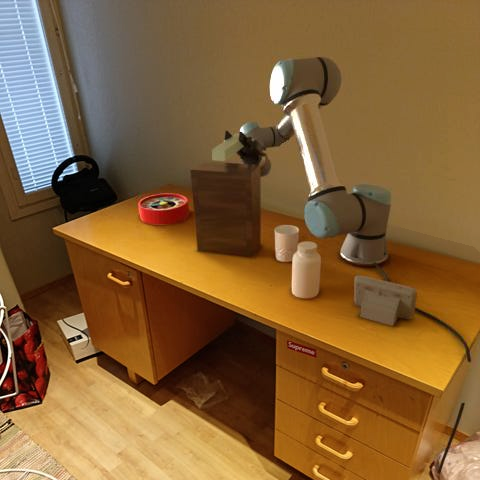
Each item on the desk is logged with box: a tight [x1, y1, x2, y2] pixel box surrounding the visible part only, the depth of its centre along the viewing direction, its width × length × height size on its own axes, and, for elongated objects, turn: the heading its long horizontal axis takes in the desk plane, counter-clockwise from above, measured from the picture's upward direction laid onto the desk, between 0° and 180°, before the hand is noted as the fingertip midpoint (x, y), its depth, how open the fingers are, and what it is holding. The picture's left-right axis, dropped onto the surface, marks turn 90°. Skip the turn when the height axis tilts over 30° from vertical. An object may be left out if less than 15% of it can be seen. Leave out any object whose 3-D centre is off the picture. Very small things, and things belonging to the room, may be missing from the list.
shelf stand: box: [189, 160, 262, 259], centre depth 149 cm, size 10×20×28 cm, turn 72°
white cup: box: [274, 224, 300, 263], centre depth 147 cm, size 8×8×10 cm
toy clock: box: [137, 192, 190, 226], centre depth 183 cm, size 20×6×20 cm
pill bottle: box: [291, 240, 322, 299], centre depth 127 cm, size 8×8×15 cm
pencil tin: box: [211, 132, 248, 162], centre depth 140 cm, size 22×4×3 cm, turn 161°
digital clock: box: [353, 274, 418, 327], centre depth 117 cm, size 16×9×11 cm, turn 47°
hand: (233, 135), depth 140 cm, fingers closed on pencil tin, 4 cm apart
